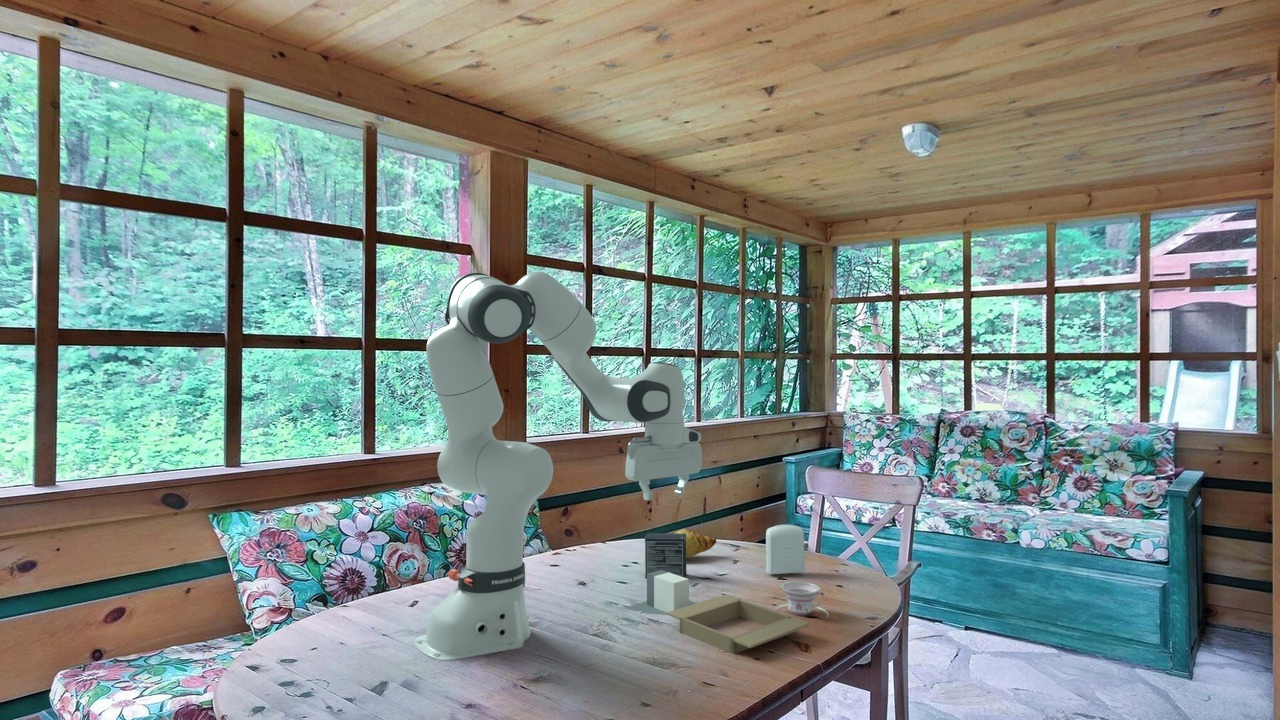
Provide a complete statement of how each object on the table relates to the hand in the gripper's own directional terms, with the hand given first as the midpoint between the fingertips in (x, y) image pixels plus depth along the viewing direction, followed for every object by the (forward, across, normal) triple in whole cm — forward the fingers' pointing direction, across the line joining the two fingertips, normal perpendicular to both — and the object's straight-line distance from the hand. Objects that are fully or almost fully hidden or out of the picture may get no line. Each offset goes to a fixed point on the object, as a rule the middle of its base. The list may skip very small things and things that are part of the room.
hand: (664, 497), depth 161 cm
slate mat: (+25, +1, -1) cm, 25 cm away
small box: (+25, +18, +19) cm, 36 cm away
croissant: (+25, +34, +32) cm, 53 cm away
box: (+25, 0, -1) cm, 25 cm away
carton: (+25, +1, -21) cm, 33 cm away
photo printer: (+25, +44, +1) cm, 50 cm away
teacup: (+26, +21, -21) cm, 40 cm away
